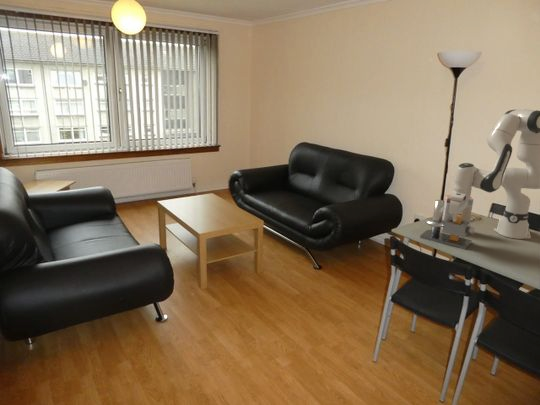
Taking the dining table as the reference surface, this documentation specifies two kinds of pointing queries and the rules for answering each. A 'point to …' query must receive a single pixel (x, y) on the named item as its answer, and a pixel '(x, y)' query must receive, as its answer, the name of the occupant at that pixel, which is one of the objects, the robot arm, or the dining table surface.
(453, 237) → the orange rectangular bar
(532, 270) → the dining table surface
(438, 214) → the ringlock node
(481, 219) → the dining table surface
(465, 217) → the cracker box
